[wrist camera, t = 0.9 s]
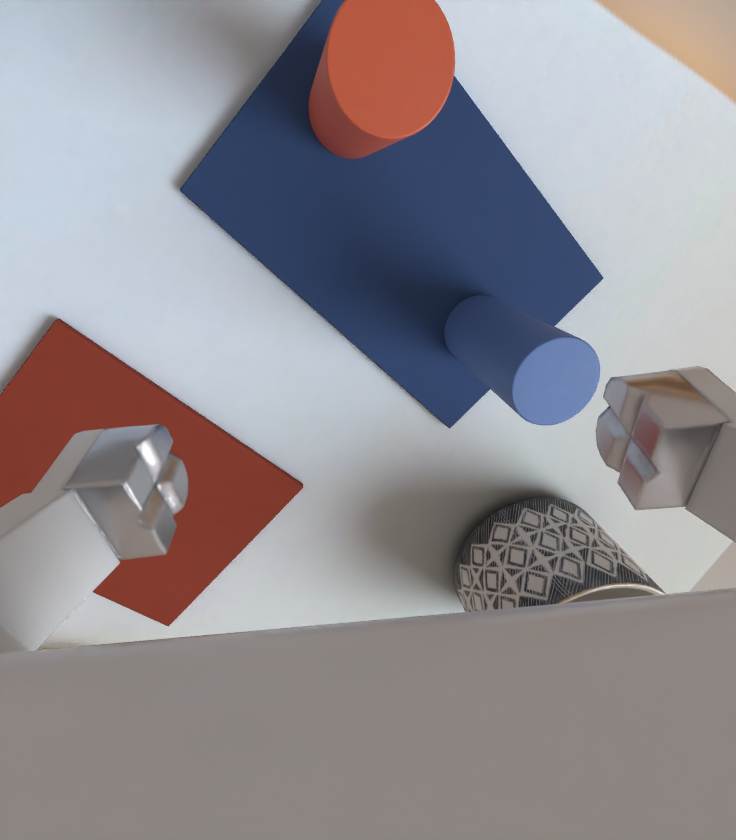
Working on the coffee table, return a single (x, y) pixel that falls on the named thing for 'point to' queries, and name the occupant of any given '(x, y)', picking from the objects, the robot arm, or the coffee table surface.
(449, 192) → the blue mat
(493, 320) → the blue peg
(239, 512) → the red mat
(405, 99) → the red peg
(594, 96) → the coffee table surface
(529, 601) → the planter
